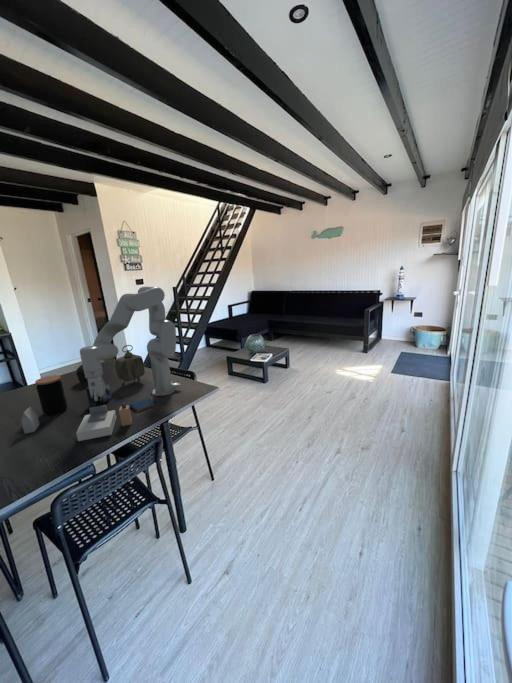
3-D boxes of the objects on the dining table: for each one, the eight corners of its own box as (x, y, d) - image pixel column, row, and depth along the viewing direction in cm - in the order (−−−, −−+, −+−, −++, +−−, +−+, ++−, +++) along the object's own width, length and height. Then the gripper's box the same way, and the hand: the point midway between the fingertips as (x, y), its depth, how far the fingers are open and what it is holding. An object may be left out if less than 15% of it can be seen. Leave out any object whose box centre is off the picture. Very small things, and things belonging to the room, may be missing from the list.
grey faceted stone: (39, 424, 139) (34, 405, 137) (34, 431, 133) (28, 412, 130) (30, 426, 138) (25, 407, 135) (24, 433, 132) (18, 413, 129)
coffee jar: (72, 407, 155) (65, 375, 150) (53, 417, 145) (45, 384, 140) (58, 405, 158) (50, 374, 154) (38, 415, 149) (29, 382, 144)
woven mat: (156, 406, 153) (156, 402, 152) (137, 413, 146) (136, 410, 145) (147, 400, 160) (147, 396, 160) (128, 407, 153) (127, 403, 152)
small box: (99, 407, 154) (95, 388, 151) (88, 406, 155) (84, 388, 152) (112, 398, 164) (109, 380, 161) (102, 397, 165) (99, 380, 162)
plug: (131, 420, 139) (128, 401, 136) (131, 424, 135) (127, 404, 132) (122, 421, 138) (119, 402, 135) (121, 426, 134) (118, 406, 131)
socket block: (116, 417, 142) (115, 409, 141) (111, 434, 127) (109, 426, 126) (86, 422, 138) (85, 415, 137) (78, 441, 124) (76, 432, 123)
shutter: (107, 412, 139) (106, 404, 138) (105, 419, 132) (103, 411, 131) (91, 414, 137) (89, 407, 136) (87, 422, 130) (86, 414, 129)
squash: (90, 367, 200) (76, 356, 188) (110, 368, 198) (98, 357, 186) (81, 386, 193) (67, 376, 180) (102, 388, 191) (89, 377, 178)
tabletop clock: (139, 378, 191) (133, 341, 185) (148, 381, 186) (142, 343, 180) (118, 386, 180) (111, 347, 174) (127, 389, 175) (119, 349, 168)
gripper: (99, 376, 131) (106, 413, 136) (105, 366, 145) (111, 400, 149) (80, 379, 129) (88, 416, 133) (88, 368, 143) (95, 402, 147)
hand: (100, 407), depth 141 cm, fingers closed
